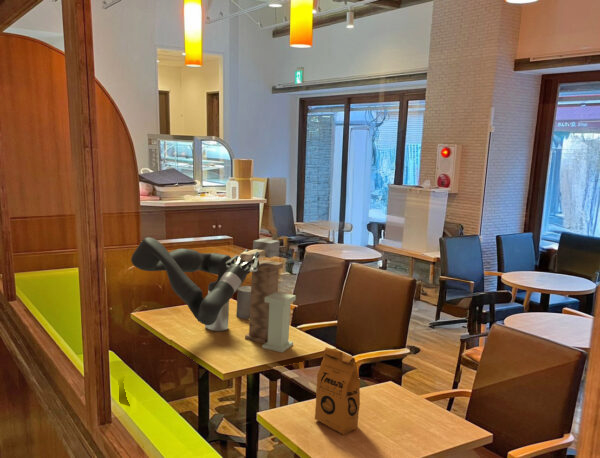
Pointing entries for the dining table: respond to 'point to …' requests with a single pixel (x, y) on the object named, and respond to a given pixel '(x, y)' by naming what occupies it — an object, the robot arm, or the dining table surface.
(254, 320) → the tall stand
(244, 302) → the pillar candle
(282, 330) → the pale green square pedestal
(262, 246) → the mallet
